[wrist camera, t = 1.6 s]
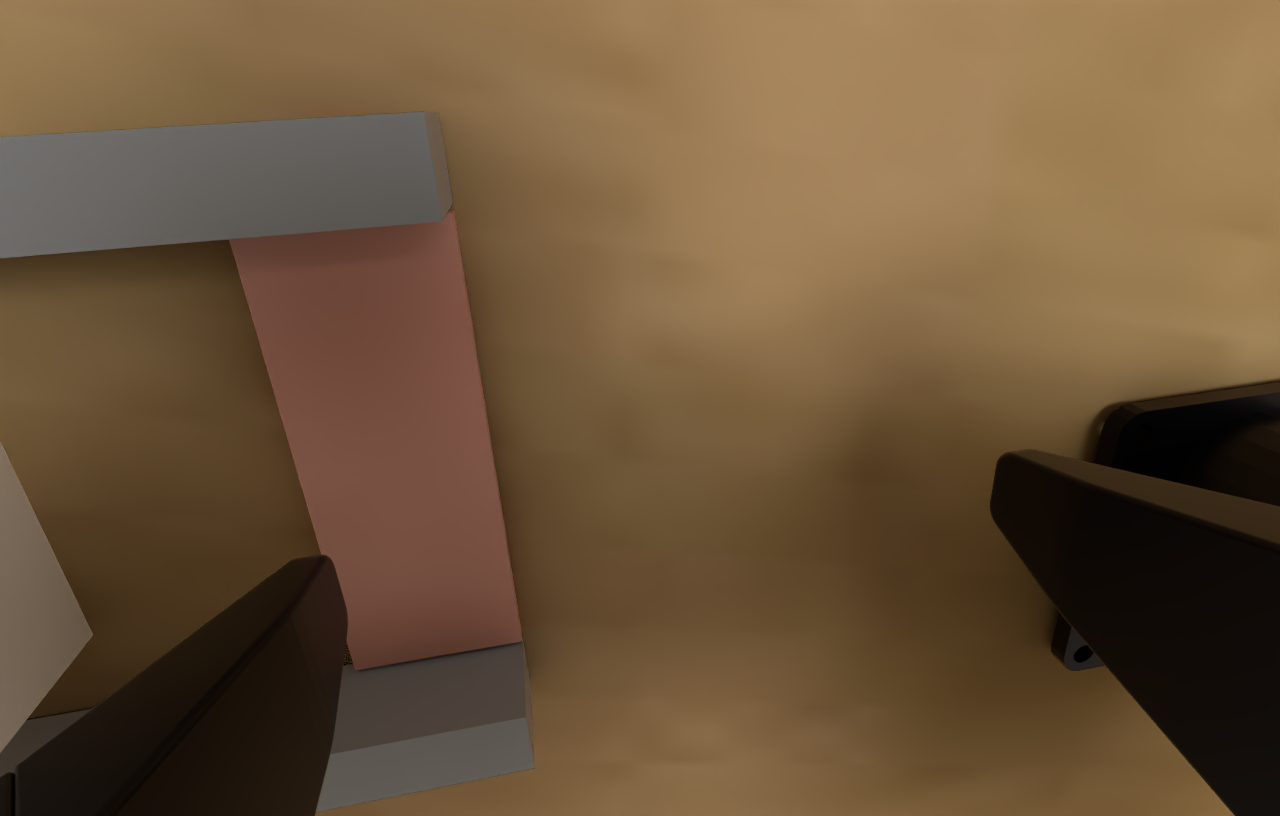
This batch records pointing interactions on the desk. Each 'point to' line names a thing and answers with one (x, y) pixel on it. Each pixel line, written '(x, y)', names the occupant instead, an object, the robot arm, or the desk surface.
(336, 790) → the u-shaped bracket
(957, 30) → the desk surface
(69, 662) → the cream block
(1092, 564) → the robot arm
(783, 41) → the desk surface
